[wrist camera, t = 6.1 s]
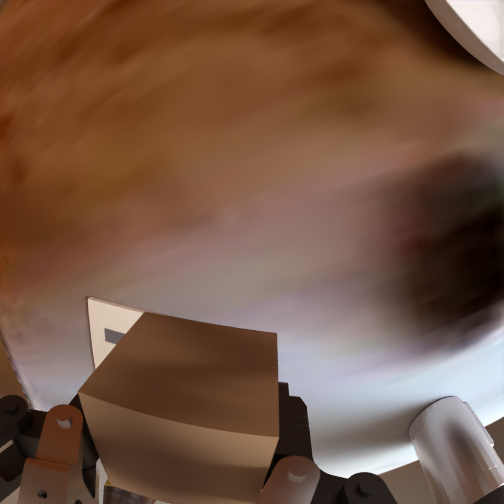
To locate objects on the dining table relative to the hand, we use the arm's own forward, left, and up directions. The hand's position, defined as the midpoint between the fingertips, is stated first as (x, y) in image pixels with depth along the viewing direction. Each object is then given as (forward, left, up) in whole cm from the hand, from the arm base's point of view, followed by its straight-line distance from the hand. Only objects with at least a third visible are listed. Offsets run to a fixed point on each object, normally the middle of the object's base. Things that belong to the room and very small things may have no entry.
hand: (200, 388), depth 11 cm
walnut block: (0, 0, -1) cm, 1 cm away
